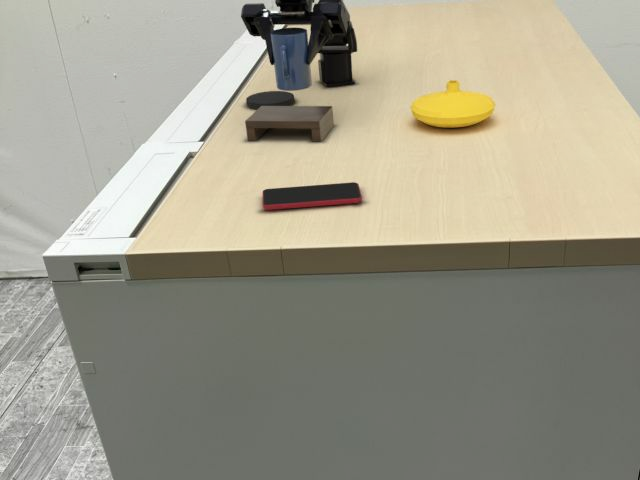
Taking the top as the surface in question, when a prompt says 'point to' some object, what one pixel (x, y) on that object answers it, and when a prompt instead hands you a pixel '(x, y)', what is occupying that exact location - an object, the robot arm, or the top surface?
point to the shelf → (291, 120)
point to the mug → (291, 59)
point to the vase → (452, 107)
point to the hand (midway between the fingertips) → (289, 63)
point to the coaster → (270, 99)
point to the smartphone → (311, 196)
